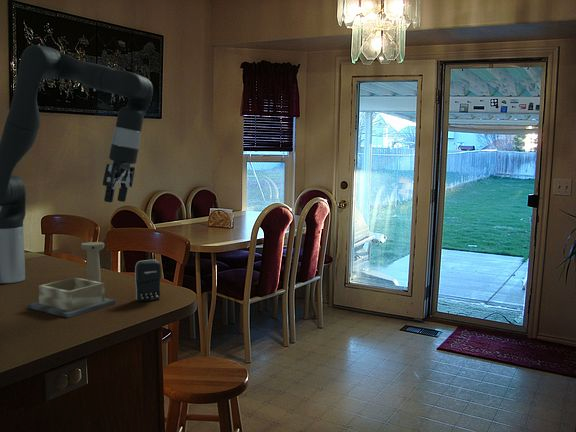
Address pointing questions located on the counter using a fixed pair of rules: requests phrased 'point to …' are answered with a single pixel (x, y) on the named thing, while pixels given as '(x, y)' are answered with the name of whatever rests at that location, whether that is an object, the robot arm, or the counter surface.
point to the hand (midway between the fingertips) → (114, 201)
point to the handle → (93, 260)
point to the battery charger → (147, 280)
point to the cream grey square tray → (71, 297)
